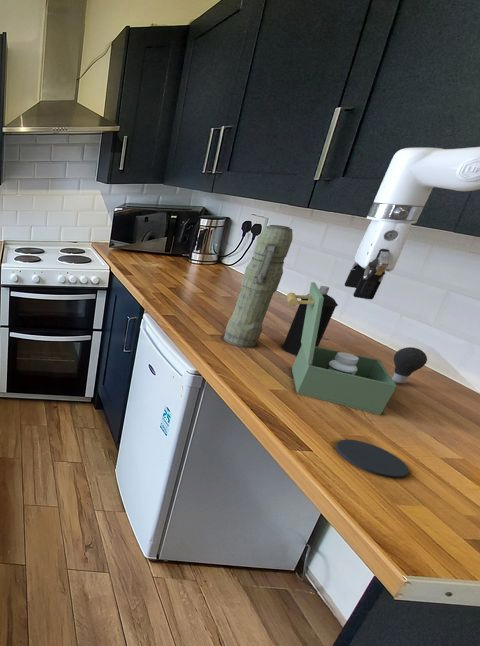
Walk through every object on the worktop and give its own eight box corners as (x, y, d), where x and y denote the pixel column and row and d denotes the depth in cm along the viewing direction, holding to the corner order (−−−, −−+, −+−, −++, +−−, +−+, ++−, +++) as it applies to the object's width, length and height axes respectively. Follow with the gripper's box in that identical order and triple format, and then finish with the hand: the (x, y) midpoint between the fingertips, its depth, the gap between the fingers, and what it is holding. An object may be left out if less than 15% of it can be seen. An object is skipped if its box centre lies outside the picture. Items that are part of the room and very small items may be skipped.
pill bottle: (329, 381, 102) (344, 349, 98) (352, 392, 97) (368, 359, 93) (314, 383, 100) (328, 351, 97) (336, 394, 96) (352, 361, 92)
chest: (365, 386, 101) (379, 359, 98) (380, 415, 89) (396, 386, 86) (291, 368, 109) (302, 343, 105) (296, 393, 97) (308, 365, 94)
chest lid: (315, 282, 100) (286, 282, 103) (323, 297, 88) (291, 297, 91) (304, 342, 105) (278, 340, 108) (311, 364, 93) (281, 361, 96)
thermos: (256, 338, 126) (297, 225, 112) (256, 352, 117) (301, 231, 103) (223, 331, 131) (259, 222, 116) (221, 344, 122) (260, 227, 107)
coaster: (398, 454, 77) (399, 452, 77) (414, 487, 69) (416, 484, 69) (332, 435, 82) (333, 433, 82) (340, 463, 74) (342, 461, 74)
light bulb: (417, 388, 101) (438, 352, 97) (400, 389, 100) (420, 353, 96) (393, 376, 106) (411, 343, 102) (375, 378, 105) (394, 343, 101)
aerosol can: (320, 359, 114) (350, 293, 106) (286, 354, 117) (313, 288, 109) (309, 348, 121) (336, 284, 113) (277, 343, 124) (301, 281, 116)
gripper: (434, 219, 74) (390, 306, 81) (405, 211, 88) (370, 286, 95) (380, 215, 78) (343, 298, 85) (360, 208, 91) (329, 280, 98)
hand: (357, 292), depth 90 cm, fingers open, 9 cm apart
